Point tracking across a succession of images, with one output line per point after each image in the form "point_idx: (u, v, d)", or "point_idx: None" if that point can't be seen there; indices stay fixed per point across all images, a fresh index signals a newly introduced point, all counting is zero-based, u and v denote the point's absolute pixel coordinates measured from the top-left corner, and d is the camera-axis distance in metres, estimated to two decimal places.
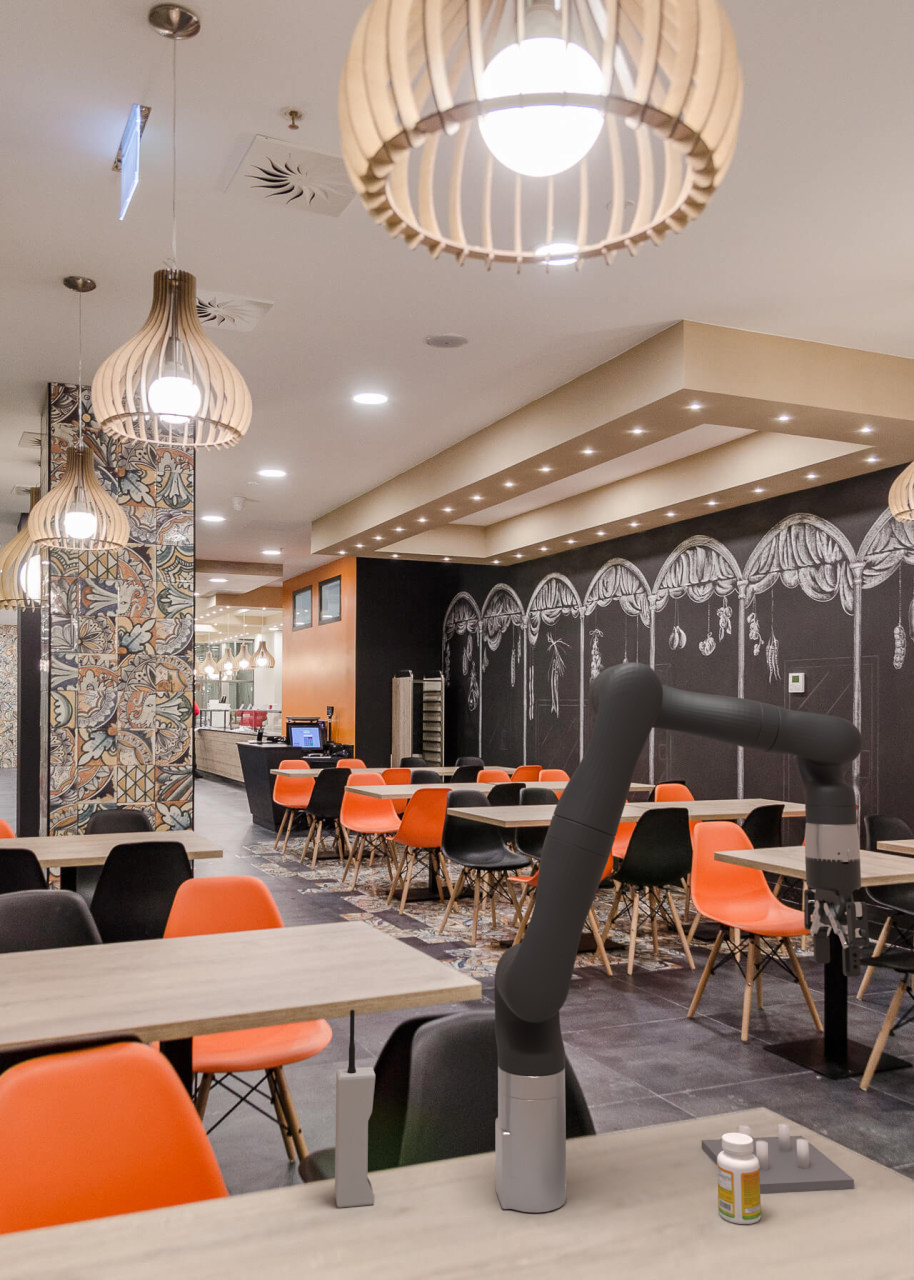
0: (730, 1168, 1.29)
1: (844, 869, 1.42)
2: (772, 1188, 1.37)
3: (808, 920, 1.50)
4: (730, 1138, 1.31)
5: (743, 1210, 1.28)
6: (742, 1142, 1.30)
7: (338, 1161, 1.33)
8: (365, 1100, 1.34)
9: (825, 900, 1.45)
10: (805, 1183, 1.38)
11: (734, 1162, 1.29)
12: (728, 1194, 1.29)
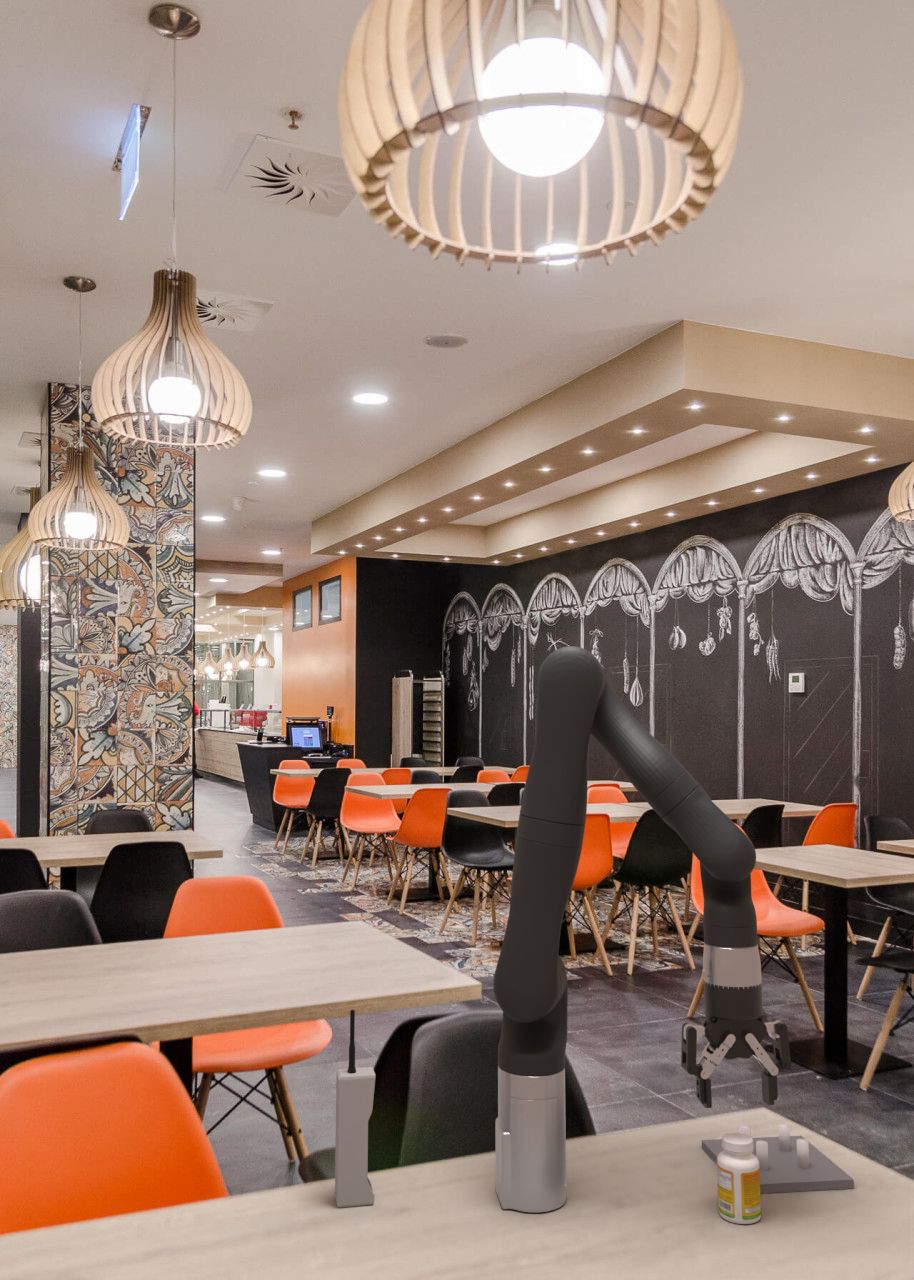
0: (730, 1168, 1.29)
1: None
2: (772, 1188, 1.37)
3: (695, 1062, 1.31)
4: (730, 1138, 1.31)
5: (743, 1209, 1.28)
6: (742, 1142, 1.30)
7: (338, 1161, 1.33)
8: (365, 1100, 1.34)
9: (735, 1031, 1.32)
10: (805, 1183, 1.38)
11: (734, 1162, 1.29)
12: (728, 1194, 1.29)
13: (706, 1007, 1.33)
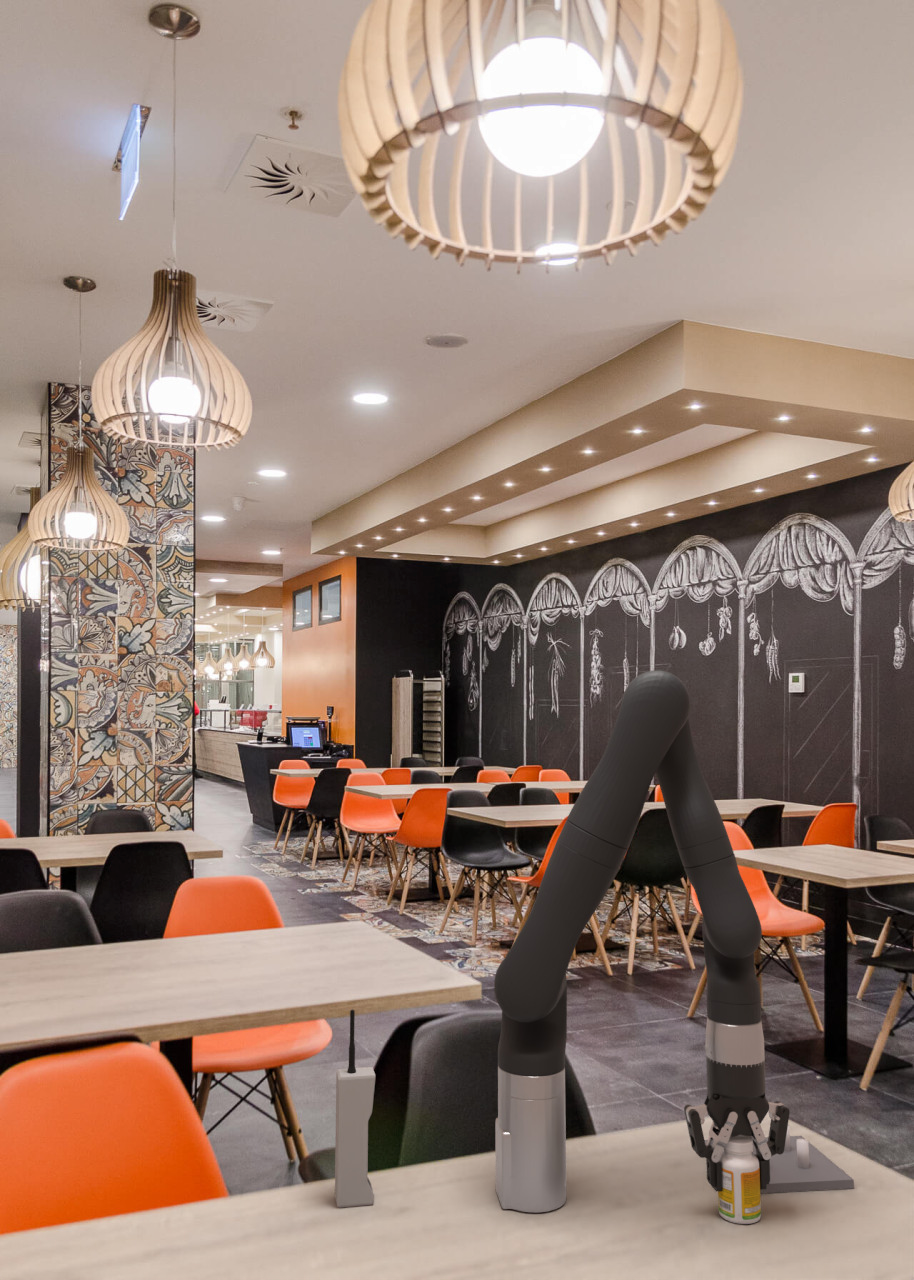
0: (730, 1168, 1.29)
1: None
2: (772, 1188, 1.37)
3: (704, 1144, 1.30)
4: (730, 1137, 1.31)
5: (743, 1209, 1.28)
6: (742, 1141, 1.30)
7: (338, 1161, 1.33)
8: (365, 1100, 1.34)
9: (737, 1108, 1.31)
10: (805, 1183, 1.38)
11: (734, 1162, 1.29)
12: (728, 1193, 1.29)
13: (708, 1083, 1.32)
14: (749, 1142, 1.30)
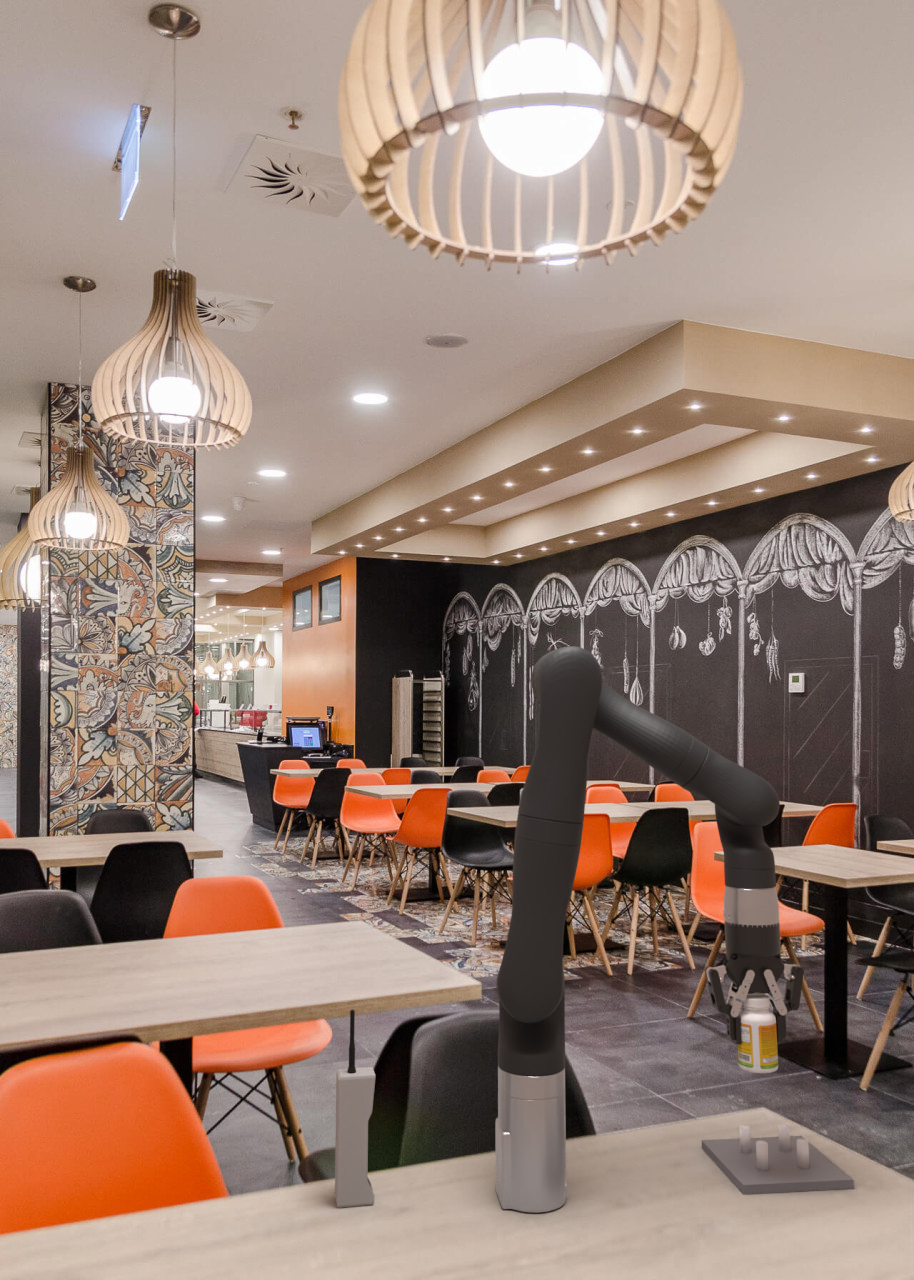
0: (748, 1022, 1.38)
1: None
2: (772, 1188, 1.37)
3: (724, 1001, 1.39)
4: (748, 996, 1.40)
5: (761, 1059, 1.37)
6: (759, 998, 1.39)
7: (338, 1161, 1.33)
8: (365, 1100, 1.34)
9: (754, 967, 1.40)
10: (805, 1183, 1.38)
11: (752, 1016, 1.38)
12: (747, 1046, 1.38)
13: (727, 945, 1.41)
14: (766, 998, 1.39)
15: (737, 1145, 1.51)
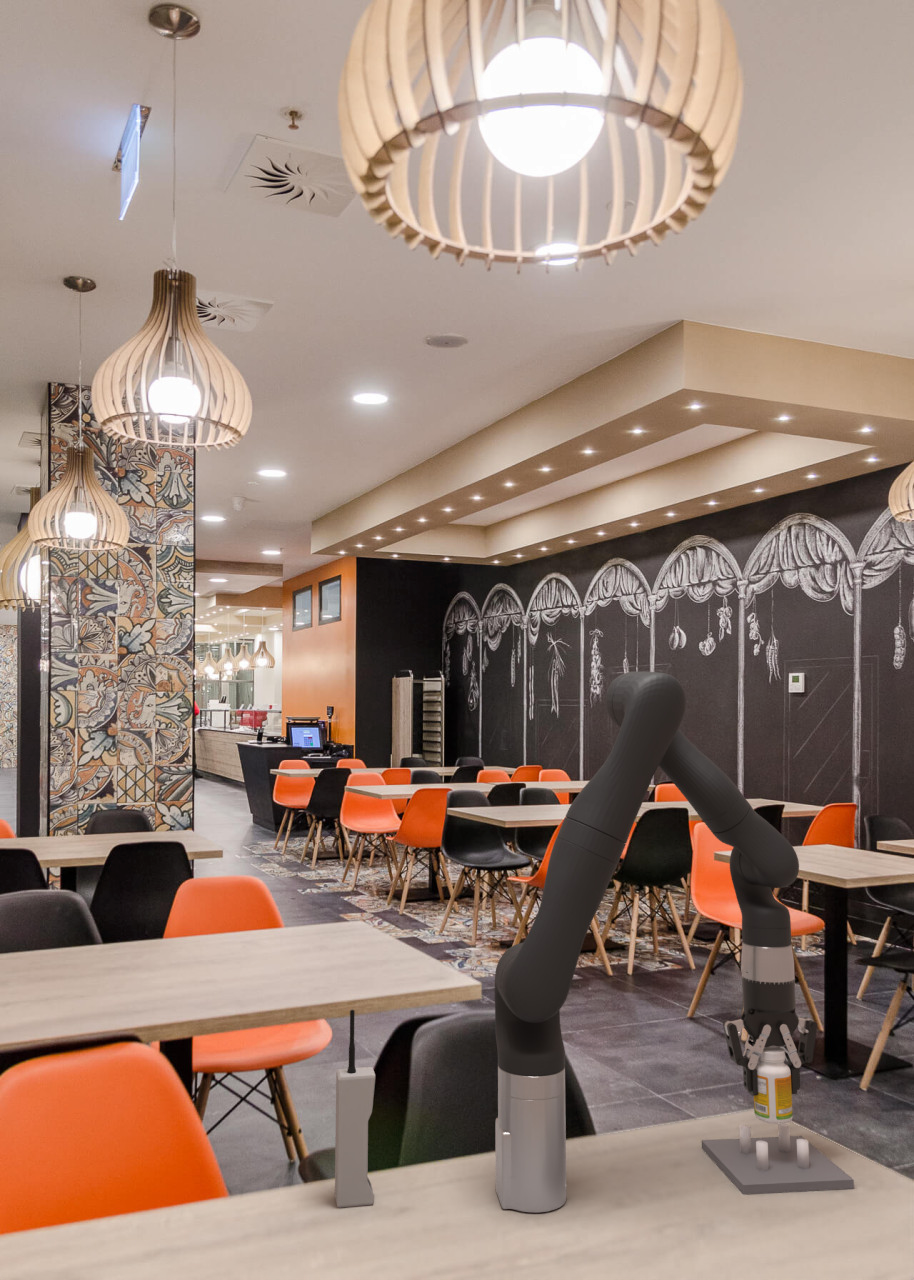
0: (765, 1074, 1.45)
1: None
2: (772, 1188, 1.37)
3: (741, 1054, 1.46)
4: (764, 1049, 1.47)
5: (777, 1110, 1.44)
6: (775, 1051, 1.46)
7: (338, 1161, 1.33)
8: (365, 1100, 1.34)
9: (770, 1022, 1.47)
10: (805, 1183, 1.38)
11: (769, 1069, 1.45)
12: (763, 1097, 1.45)
13: (744, 1000, 1.48)
14: (781, 1052, 1.46)
15: (737, 1145, 1.51)
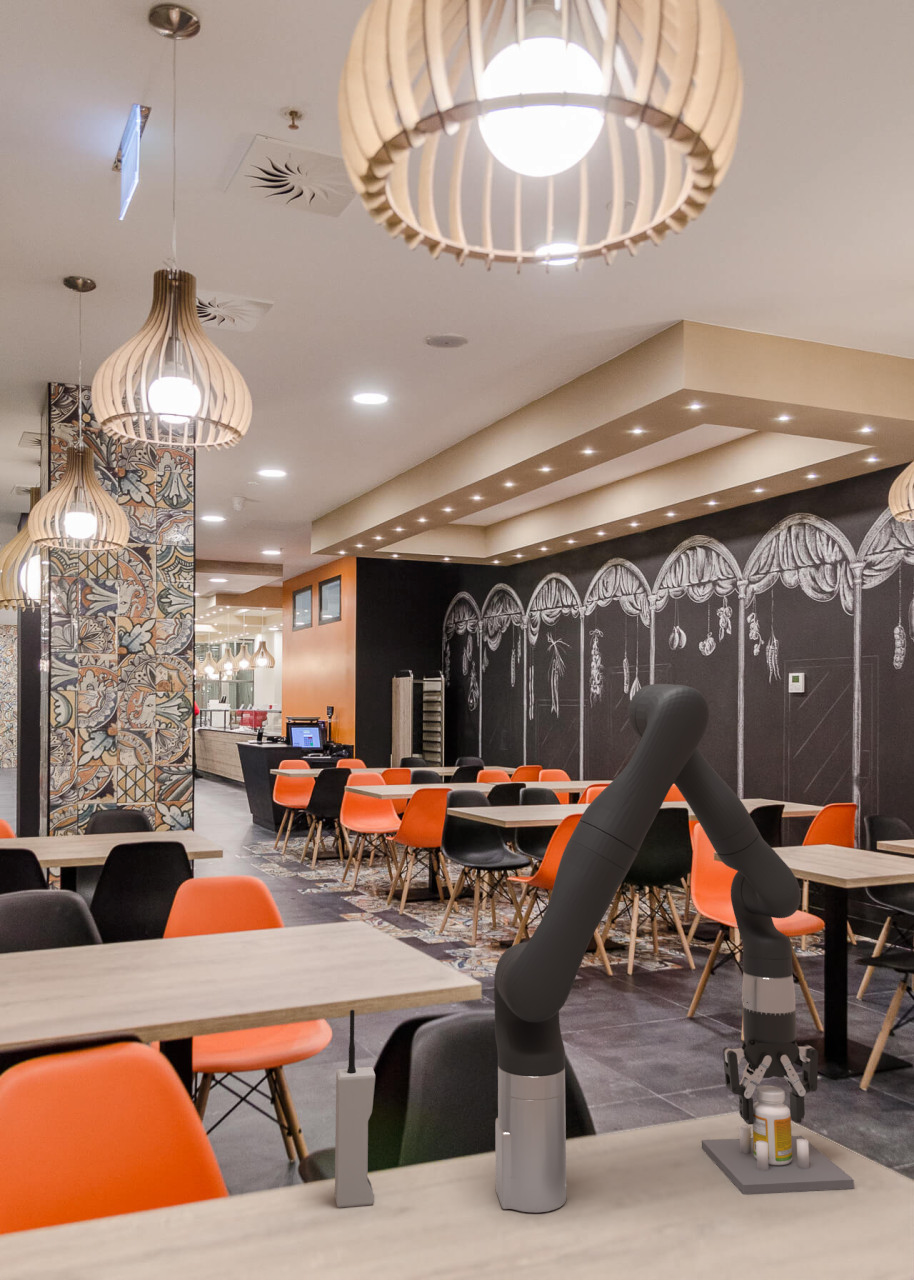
0: (764, 1115, 1.44)
1: None
2: (772, 1188, 1.37)
3: (738, 1083, 1.45)
4: (764, 1089, 1.47)
5: (776, 1152, 1.43)
6: (775, 1092, 1.45)
7: (338, 1161, 1.33)
8: (365, 1100, 1.34)
9: (771, 1052, 1.46)
10: (805, 1183, 1.38)
11: (768, 1110, 1.44)
12: (762, 1138, 1.44)
13: (745, 1030, 1.47)
14: (781, 1093, 1.45)
15: (737, 1145, 1.51)
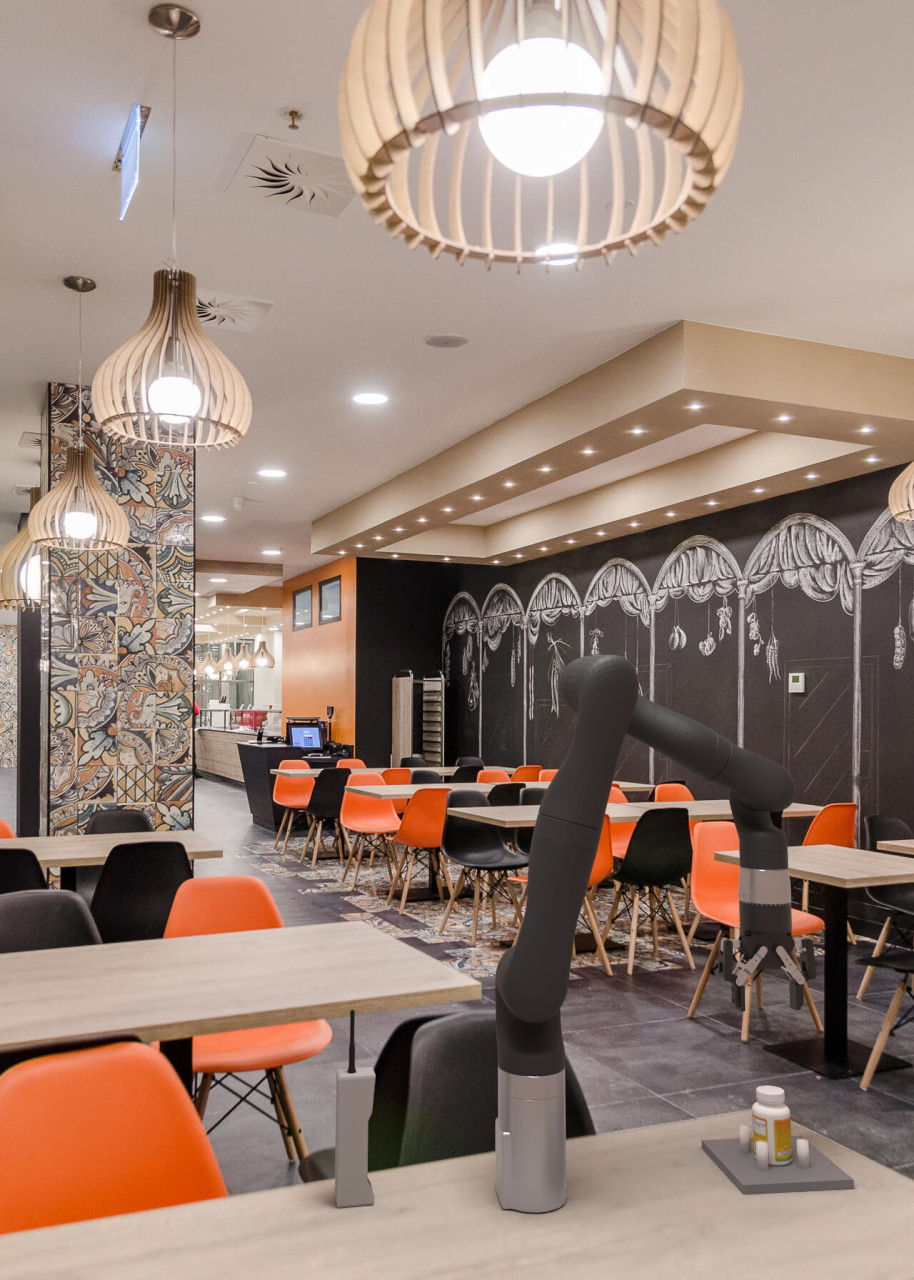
0: (764, 1116, 1.44)
1: None
2: (772, 1188, 1.37)
3: (731, 971, 1.47)
4: (764, 1089, 1.47)
5: (776, 1153, 1.43)
6: (775, 1092, 1.45)
7: (338, 1161, 1.33)
8: (365, 1100, 1.34)
9: (767, 944, 1.48)
10: (805, 1183, 1.38)
11: (768, 1110, 1.44)
12: (762, 1139, 1.44)
13: (741, 923, 1.49)
14: (781, 1093, 1.45)
15: (737, 1145, 1.51)
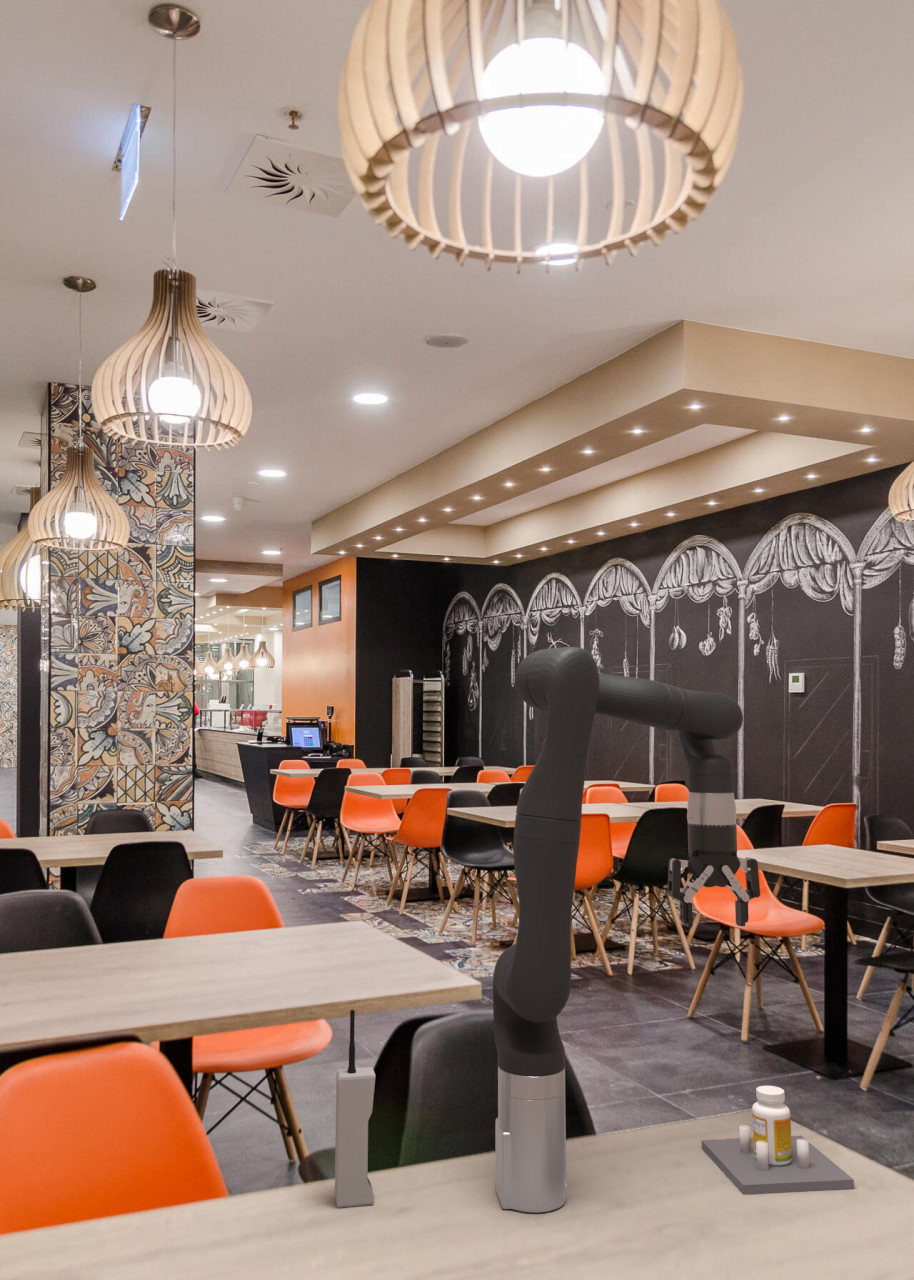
0: (764, 1116, 1.44)
1: None
2: (772, 1188, 1.37)
3: (679, 889, 1.55)
4: (764, 1089, 1.47)
5: (776, 1152, 1.43)
6: (775, 1092, 1.45)
7: (338, 1161, 1.33)
8: (365, 1100, 1.34)
9: (713, 864, 1.56)
10: (805, 1183, 1.38)
11: (768, 1110, 1.44)
12: (762, 1139, 1.44)
13: (689, 844, 1.57)
14: (781, 1093, 1.45)
15: (737, 1145, 1.51)
